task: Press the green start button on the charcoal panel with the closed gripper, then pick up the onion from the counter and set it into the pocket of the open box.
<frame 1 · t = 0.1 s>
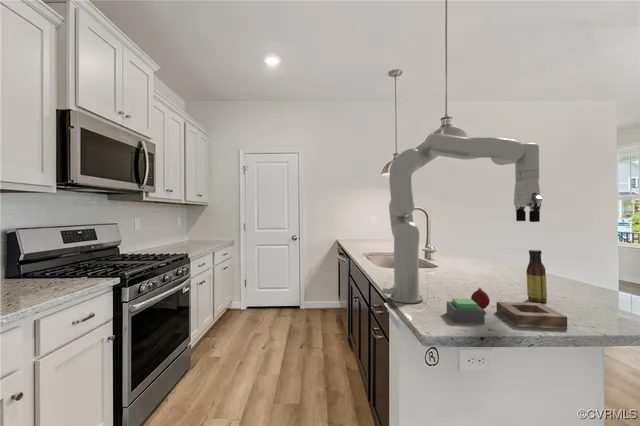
hand: (527, 221, 116), 31 cm above the countertop, tool pointing down, fingers open, 9 cm apart
button housing: (464, 317, 100), on the countertop
sauce bottle: (536, 301, 119), on the countertop
onion: (480, 310, 108), on the countertop
open box: (529, 319, 99), on the countertop
start button: (464, 305, 100), point 4 cm above the countertop, slide at 0.0 cm
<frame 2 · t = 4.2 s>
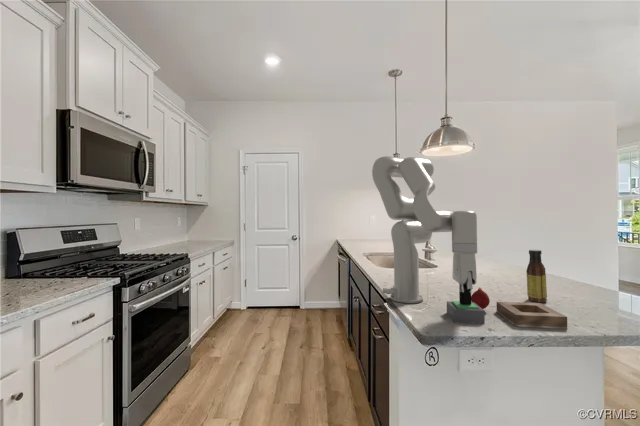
hand: (465, 303, 100), 5 cm above the countertop, tool pointing down, fingers closed
start button: (464, 308, 100), point 3 cm above the countertop, slide at 0.9 cm
everything else where it was.
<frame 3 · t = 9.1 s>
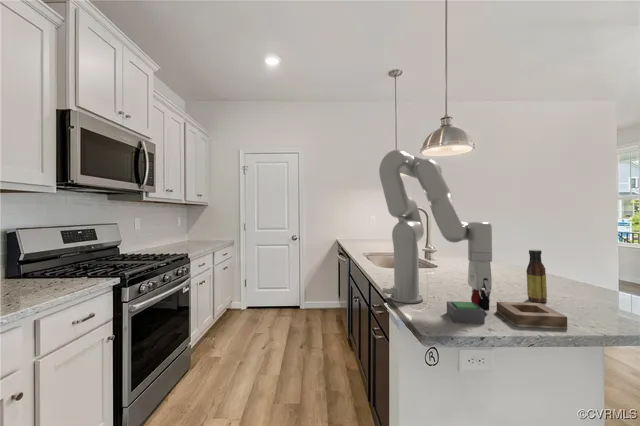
hand: (480, 306, 108), 1 cm above the countertop, tool pointing down, fingers closed on onion, 5 cm apart
onion: (480, 310, 108), on the countertop, touching gripper
everything else where it was.
when the fingers open (4 cm above the countertop, at t = 14.3 s): onion drops 2 cm, resting on open box.
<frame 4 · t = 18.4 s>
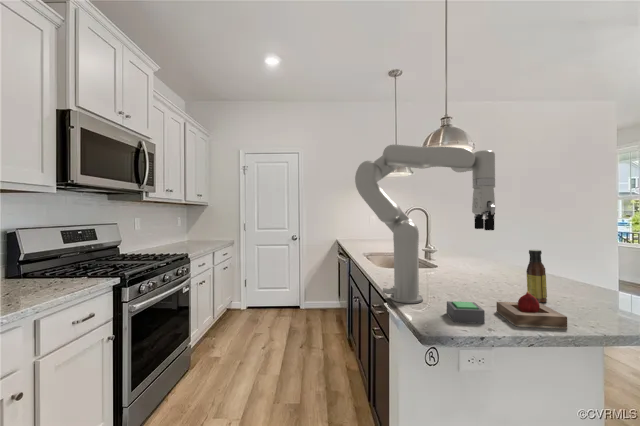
hand: (484, 229, 115), 28 cm above the countertop, tool pointing down, fingers open, 9 cm apart
onion: (528, 317, 99), point 1 cm above the countertop, touching open box
everything else where it was.
at the end: start button slide at 1.0 cm; onion 0.2 cm off-centre on the open box, point 0.8 cm above the open box's base; the gripper is holding nothing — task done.
